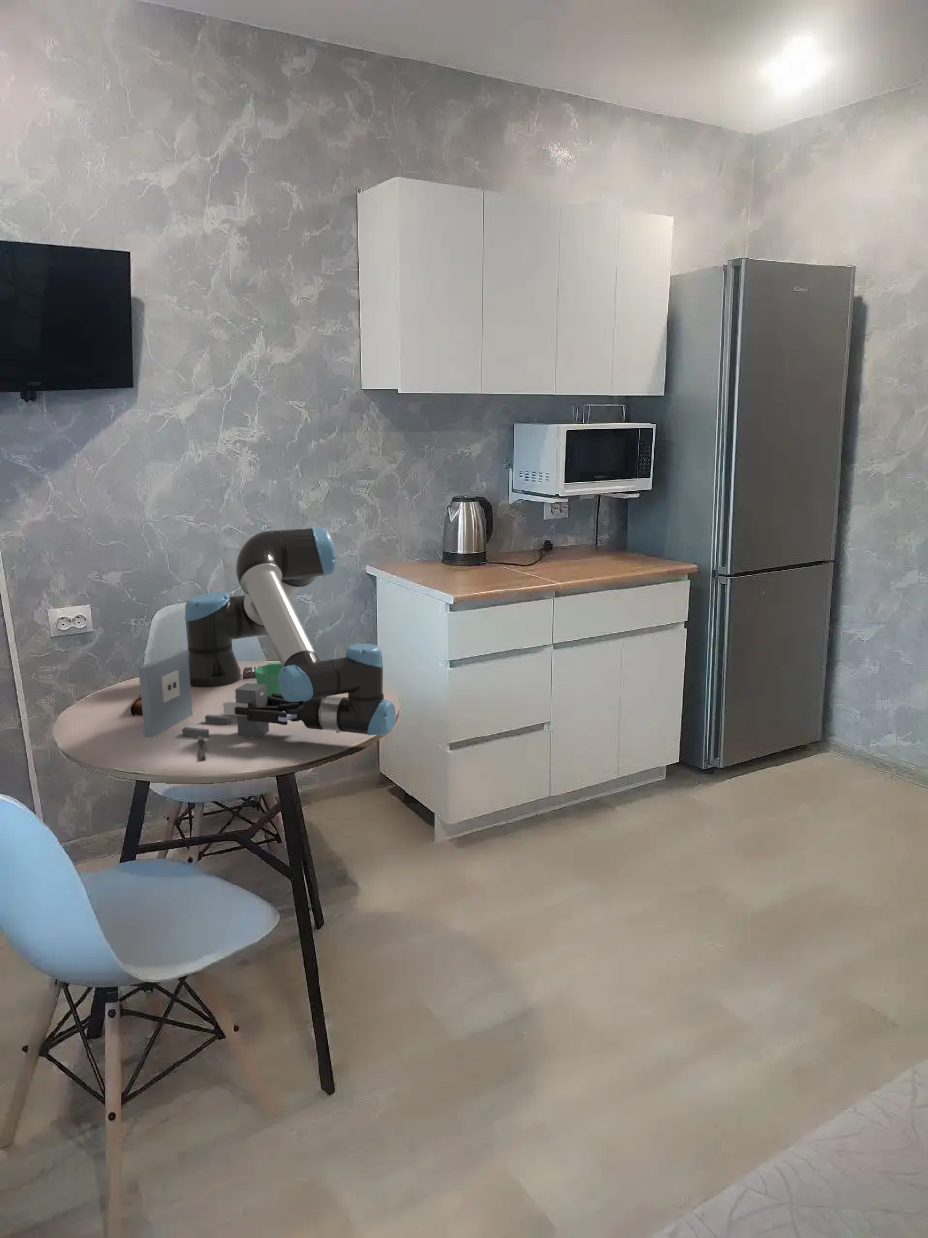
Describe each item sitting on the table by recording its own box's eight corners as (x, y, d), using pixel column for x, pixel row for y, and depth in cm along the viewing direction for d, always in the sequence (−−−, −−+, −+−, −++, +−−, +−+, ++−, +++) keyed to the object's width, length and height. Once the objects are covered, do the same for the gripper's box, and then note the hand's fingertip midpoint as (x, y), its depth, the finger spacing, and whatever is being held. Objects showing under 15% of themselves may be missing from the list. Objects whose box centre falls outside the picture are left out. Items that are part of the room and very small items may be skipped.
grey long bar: (198, 741, 200) (197, 737, 200) (203, 740, 200) (203, 736, 200) (200, 760, 189) (200, 756, 188) (206, 760, 189) (206, 755, 189)
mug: (300, 712, 219) (298, 672, 217) (258, 716, 217) (256, 676, 214) (292, 695, 233) (290, 657, 231) (253, 698, 230) (251, 660, 228)
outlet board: (185, 714, 219) (180, 649, 215) (236, 719, 215) (232, 653, 211) (144, 736, 204) (138, 667, 200) (199, 741, 200) (193, 671, 196)
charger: (245, 728, 208) (242, 682, 206) (269, 731, 206) (267, 684, 204) (234, 735, 203) (231, 688, 201) (258, 738, 202) (255, 691, 199)
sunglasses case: (167, 714, 218) (150, 692, 217) (142, 729, 218) (125, 707, 217) (180, 692, 236) (165, 672, 234) (157, 707, 236) (142, 686, 234)
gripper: (307, 743, 191) (210, 732, 197) (343, 716, 207) (252, 707, 214) (306, 708, 189) (208, 699, 196) (341, 684, 206) (250, 677, 212)
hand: (231, 704), depth 205 cm, fingers closed on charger, 5 cm apart
